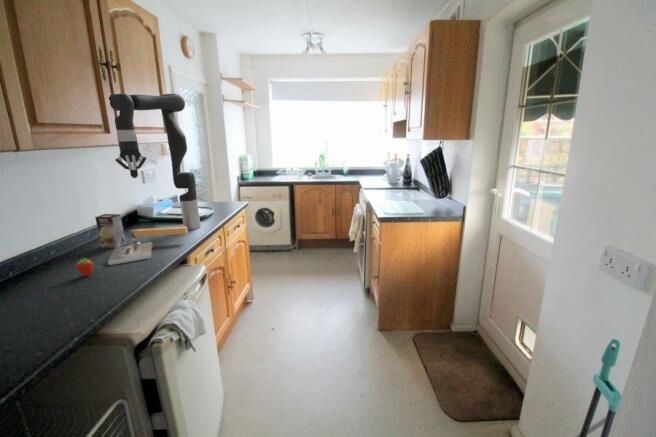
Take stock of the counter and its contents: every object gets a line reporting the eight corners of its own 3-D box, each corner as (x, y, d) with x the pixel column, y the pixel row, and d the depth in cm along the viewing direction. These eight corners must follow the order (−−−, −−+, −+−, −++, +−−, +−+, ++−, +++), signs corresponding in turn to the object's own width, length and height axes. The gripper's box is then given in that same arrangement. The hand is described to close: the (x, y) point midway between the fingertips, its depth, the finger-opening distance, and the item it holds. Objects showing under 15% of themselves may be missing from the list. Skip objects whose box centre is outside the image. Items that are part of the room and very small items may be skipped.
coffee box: (101, 247, 156) (93, 217, 152) (110, 243, 162) (104, 213, 158) (117, 247, 155) (111, 217, 151) (127, 243, 161) (120, 213, 157)
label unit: (115, 251, 150) (114, 247, 149) (152, 245, 157) (151, 241, 156) (108, 265, 135) (107, 260, 134) (150, 258, 141) (149, 253, 141)
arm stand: (130, 244, 160) (128, 236, 159) (141, 242, 162) (140, 234, 161) (129, 247, 155) (127, 239, 154) (140, 245, 158) (139, 237, 156)
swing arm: (128, 237, 155) (127, 231, 155) (131, 234, 159) (130, 229, 158) (185, 233, 158) (184, 228, 158) (188, 231, 162) (187, 226, 161)
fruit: (76, 279, 122) (71, 260, 120) (83, 273, 127) (79, 255, 125) (91, 277, 123) (87, 259, 121) (98, 272, 128) (93, 254, 126)
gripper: (144, 139, 148) (151, 175, 152) (111, 140, 142) (119, 178, 147) (143, 140, 141) (150, 177, 146) (109, 140, 136) (117, 180, 140)
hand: (134, 177), depth 146 cm, fingers closed
